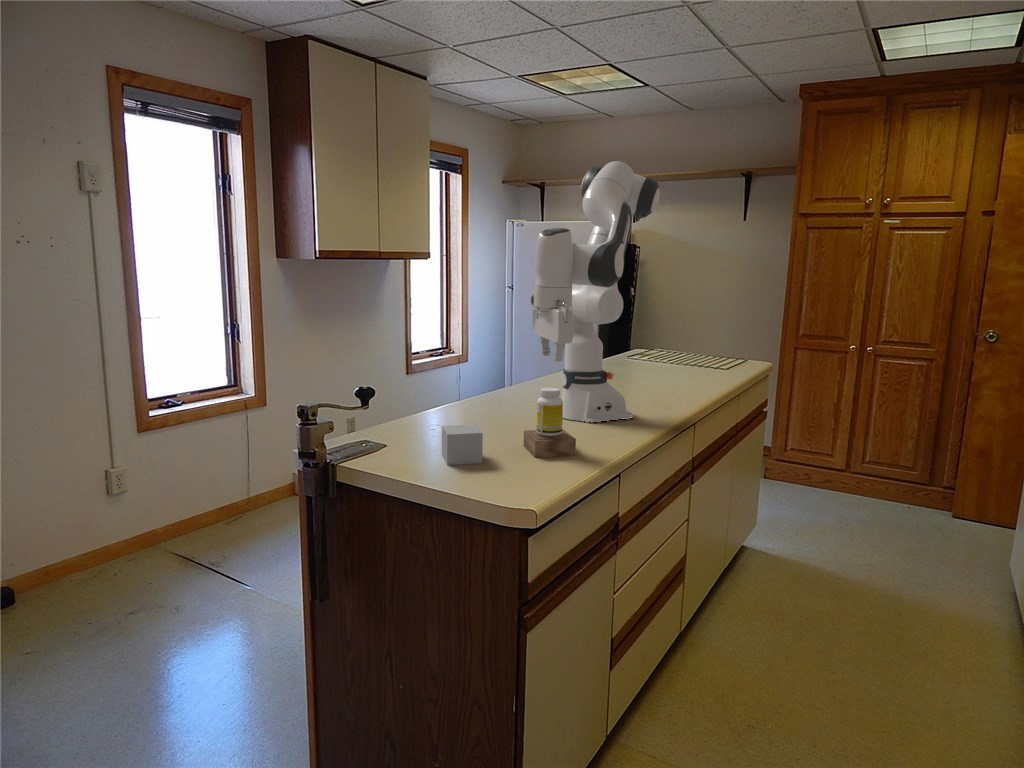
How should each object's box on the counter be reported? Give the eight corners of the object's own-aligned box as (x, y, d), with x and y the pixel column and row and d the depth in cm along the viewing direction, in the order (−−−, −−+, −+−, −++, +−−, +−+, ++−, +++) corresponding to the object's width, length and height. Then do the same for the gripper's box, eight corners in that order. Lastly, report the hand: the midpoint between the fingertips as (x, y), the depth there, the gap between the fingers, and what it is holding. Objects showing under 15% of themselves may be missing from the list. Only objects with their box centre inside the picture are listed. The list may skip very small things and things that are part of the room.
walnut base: (561, 444, 166) (562, 428, 166) (575, 455, 157) (575, 438, 156) (523, 446, 164) (523, 429, 163) (534, 457, 154) (535, 440, 154)
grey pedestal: (475, 453, 157) (475, 424, 156) (482, 463, 149) (482, 433, 148) (441, 454, 155) (441, 425, 154) (447, 465, 147) (447, 434, 146)
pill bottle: (567, 434, 160) (568, 389, 158) (551, 438, 156) (552, 392, 154) (547, 429, 164) (548, 385, 162) (531, 433, 160) (532, 388, 158)
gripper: (581, 302, 145) (579, 364, 147) (552, 297, 164) (551, 352, 167) (553, 302, 143) (552, 365, 146) (528, 297, 163) (527, 352, 165)
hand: (551, 358), depth 156 cm, fingers open, 8 cm apart
